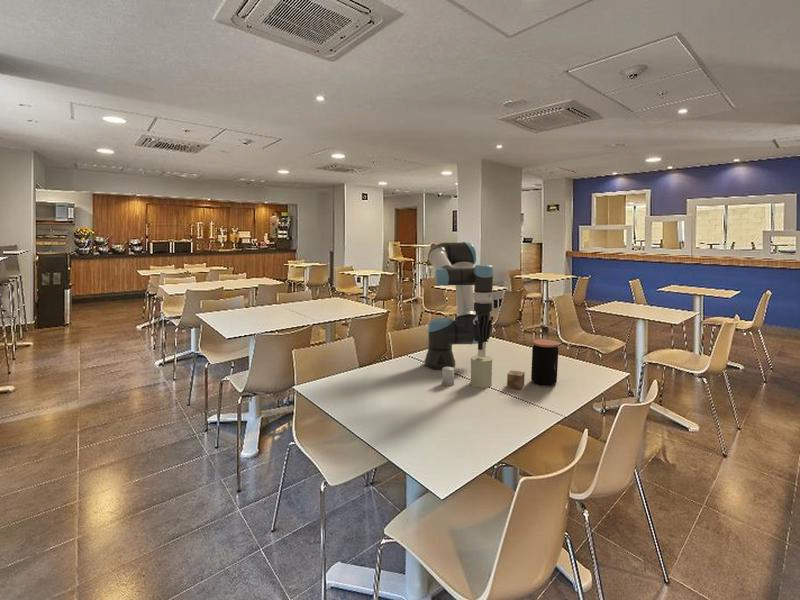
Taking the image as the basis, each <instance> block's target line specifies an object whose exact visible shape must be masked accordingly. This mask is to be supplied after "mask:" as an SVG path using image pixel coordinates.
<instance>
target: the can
mask: <svg viewBox="0 0 800 600" xmlns="http://www.w3.org/2000/svg"><path fill="white" fill-rule="evenodd" d="M492 371H493V357H491V356H488V355H485V357H484V358H483V357H479V356H478V354H476V355H473V356H471V357H470V381H469V383H470V385H471V386H472V387H475V388H480V389H486V388H491V387H492V386H493V383H492V382H493V381H492V379H493V377H492V376H493V372H492Z"/></svg>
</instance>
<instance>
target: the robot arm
mask: <svg viewBox="0 0 800 600" xmlns="http://www.w3.org/2000/svg"><path fill="white" fill-rule="evenodd" d="M427 257H428V258H427V259H428V262H429V263H430V265H431V266H433V267H434V269H435V272H434V273H435V275H434V278H435V280H434V281H435V284H436V285H437V286H443V287H447V286H455V296H456V297H455V298H456V309H457V311H456V312H457V314H456V316H455V317H454V320H453V318H452V317H451V316H450V317H449V316H448V317H446V316H445V317H444V316H443V317H442V316H441V317H436V318H433V319H431V320H430V321H429V322H428V327H427V333H428V334H427V335H428V339H427V343H428V344H427V349H428V350H427V352H426V357H425V358H424V367H426V368H428V369H432V370H438V371H440V370H441V371H442V368H443V367H453V368H454V369H455V367H456V359H455V357H454V352H453V345H477V355H478V356H479V357H483V358H484V357H485V356H486V350H487V349H486V348H487V343H489V340H490V336H491V330H492V324H493V321H494V316H491V313H490V312H492V311H493V302H492V301H493V287H494V286H493V285H494V280H493V279H494V267H493V265H492V264H476V262H477V252H476V248H475V245H474V244H473V243H472V242H467V241H466V242H465V241H461V242H447V241H446V242H439V243H437V244H436V245H434V246H433V247H431V248H430V250H429V251H428V254H427ZM475 264H476V265H475ZM474 265H475V266H474Z"/></svg>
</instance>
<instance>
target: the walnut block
mask: <svg viewBox="0 0 800 600" xmlns="http://www.w3.org/2000/svg"><path fill="white" fill-rule="evenodd" d="M506 374H507V376H506V377H507V378H506V388H507V389H514V390H519V391H520V390H521V391H522V390H523V388H524V387H525V377H526V376H525V374H526V373H525V371H521V370H511V369H510V370H509V371H508V372H507V373H506Z"/></svg>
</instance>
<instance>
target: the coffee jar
mask: <svg viewBox="0 0 800 600" xmlns="http://www.w3.org/2000/svg"><path fill="white" fill-rule="evenodd" d="M532 344H533V346H532V349H531V350H532V351H531V352H532V353H531V372H530V373H531V374H530V380H531V382H532V383H533V384H535V385H537V386H541V387H552V386H555V384H556V383H557V382H558V365H559V364H558V363H559V345H560V344H559V342H558V341H556V340H553V339H544V338H541V339H534V340H532Z"/></svg>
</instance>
